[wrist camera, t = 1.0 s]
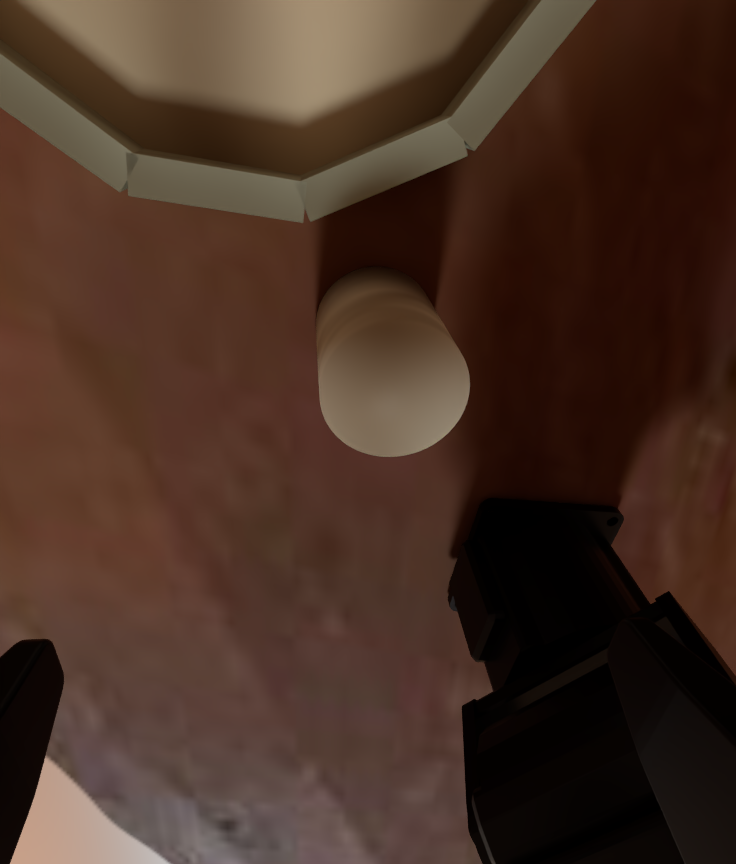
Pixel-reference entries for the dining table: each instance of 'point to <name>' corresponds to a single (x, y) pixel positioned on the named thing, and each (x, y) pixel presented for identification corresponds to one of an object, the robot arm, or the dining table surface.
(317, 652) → the dining table surface
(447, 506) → the dining table surface
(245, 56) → the ring dish
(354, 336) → the maple bead
